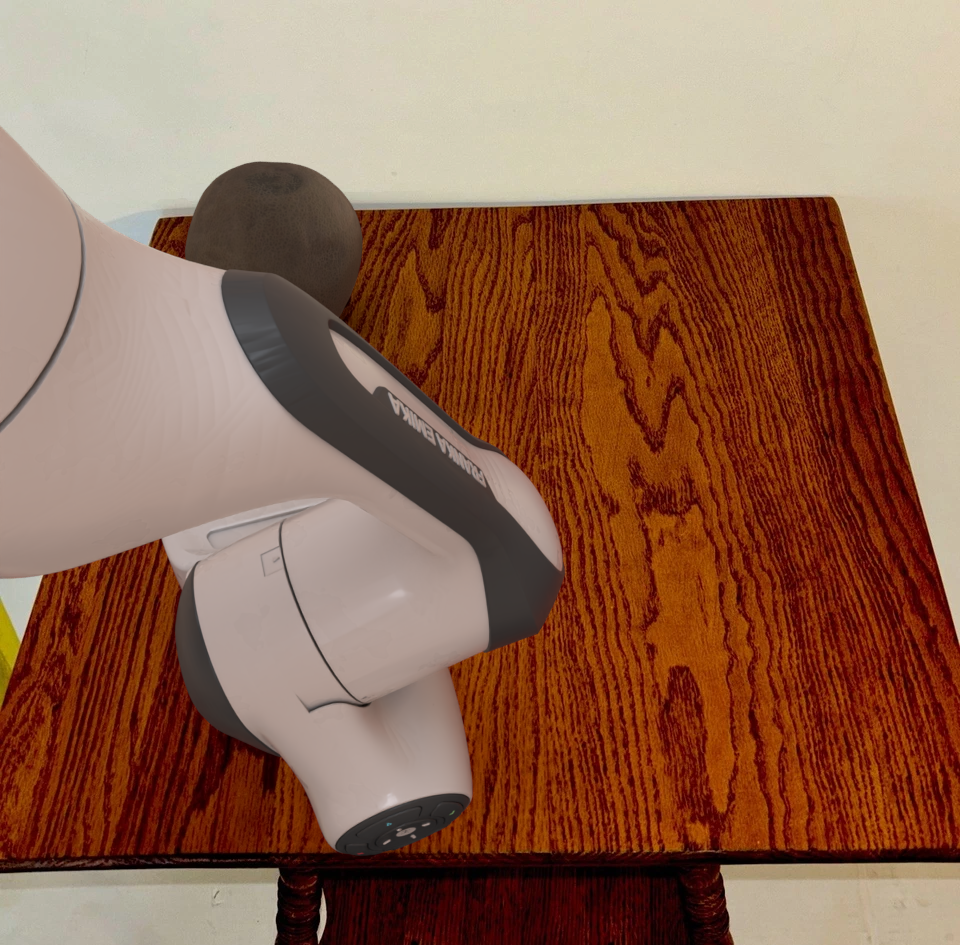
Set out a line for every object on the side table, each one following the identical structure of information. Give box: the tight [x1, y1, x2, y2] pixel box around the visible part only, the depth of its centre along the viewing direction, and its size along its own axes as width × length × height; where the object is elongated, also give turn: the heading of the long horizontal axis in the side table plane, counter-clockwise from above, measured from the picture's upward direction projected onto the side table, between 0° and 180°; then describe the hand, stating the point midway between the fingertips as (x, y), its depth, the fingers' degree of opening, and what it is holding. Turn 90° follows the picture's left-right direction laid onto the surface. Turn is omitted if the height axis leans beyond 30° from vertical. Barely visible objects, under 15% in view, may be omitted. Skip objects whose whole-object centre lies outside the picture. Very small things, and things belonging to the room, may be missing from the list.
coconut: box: [184, 160, 364, 318], centre depth 85 cm, size 14×14×15 cm
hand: (305, 430), depth 71 cm, fingers open, 8 cm apart
